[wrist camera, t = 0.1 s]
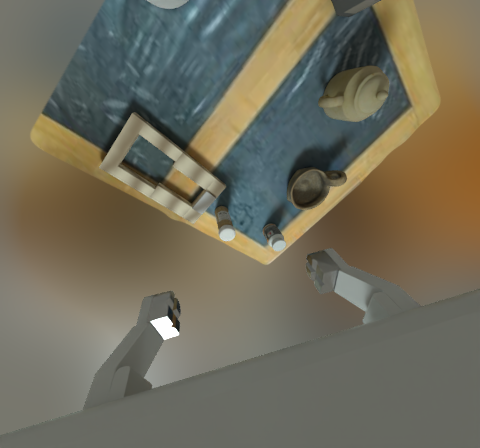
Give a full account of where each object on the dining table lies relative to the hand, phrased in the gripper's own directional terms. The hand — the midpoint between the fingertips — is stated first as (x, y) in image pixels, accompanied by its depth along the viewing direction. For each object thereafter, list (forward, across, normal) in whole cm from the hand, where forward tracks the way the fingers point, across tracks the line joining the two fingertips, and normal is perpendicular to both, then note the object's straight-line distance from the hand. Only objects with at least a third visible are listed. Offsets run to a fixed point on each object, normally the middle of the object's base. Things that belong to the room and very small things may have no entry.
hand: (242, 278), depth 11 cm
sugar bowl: (+48, -37, -3) cm, 61 cm away
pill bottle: (+48, -16, +35) cm, 62 cm away
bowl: (+48, -30, +19) cm, 60 cm away
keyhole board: (+48, +12, +8) cm, 50 cm away
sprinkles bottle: (+48, 0, +23) cm, 53 cm away
